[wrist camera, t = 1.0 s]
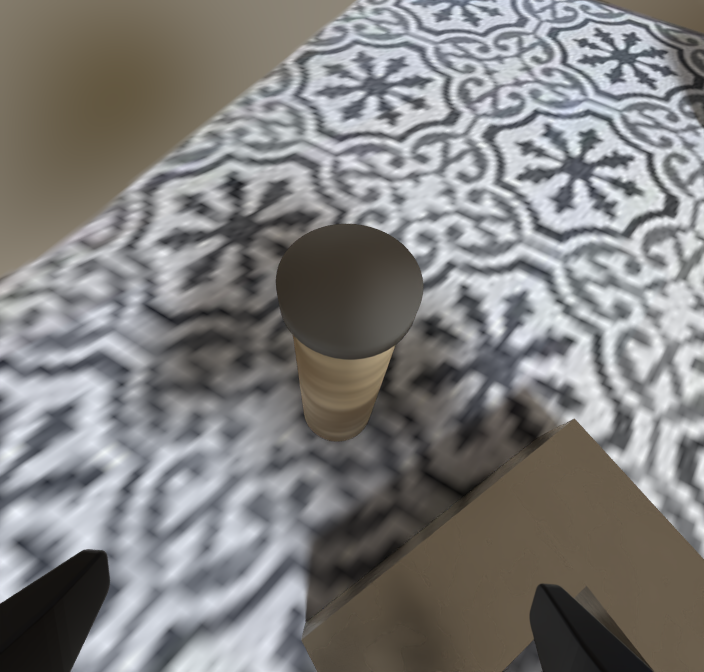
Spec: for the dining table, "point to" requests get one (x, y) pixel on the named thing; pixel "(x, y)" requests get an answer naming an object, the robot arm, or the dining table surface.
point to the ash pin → (346, 319)
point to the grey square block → (523, 572)
